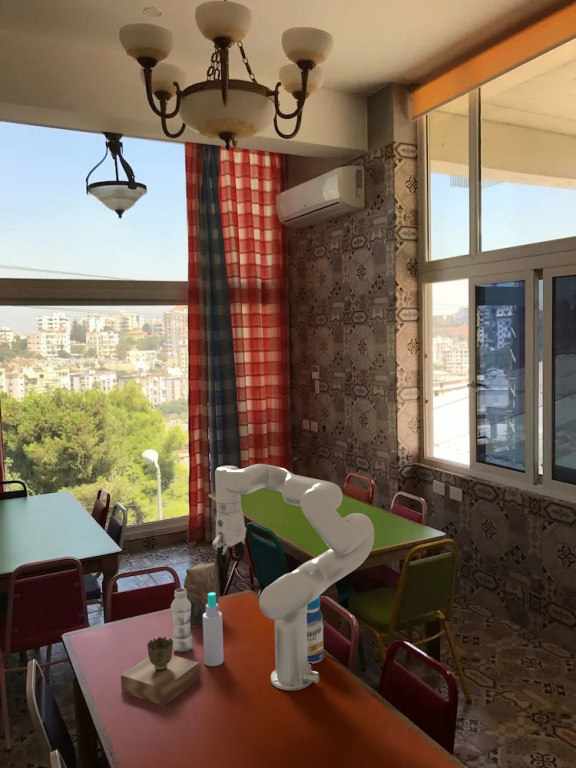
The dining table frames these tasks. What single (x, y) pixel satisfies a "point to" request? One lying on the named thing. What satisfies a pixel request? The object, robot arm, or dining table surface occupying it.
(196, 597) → the brown rock
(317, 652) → the beverage bottle
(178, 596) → the plastic bottle
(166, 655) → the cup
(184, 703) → the dining table surface
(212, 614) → the spray bottle
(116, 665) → the dining table surface
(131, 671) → the walnut plinth
